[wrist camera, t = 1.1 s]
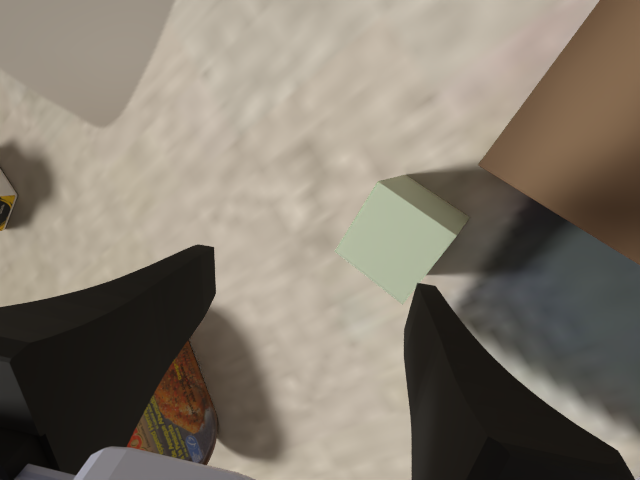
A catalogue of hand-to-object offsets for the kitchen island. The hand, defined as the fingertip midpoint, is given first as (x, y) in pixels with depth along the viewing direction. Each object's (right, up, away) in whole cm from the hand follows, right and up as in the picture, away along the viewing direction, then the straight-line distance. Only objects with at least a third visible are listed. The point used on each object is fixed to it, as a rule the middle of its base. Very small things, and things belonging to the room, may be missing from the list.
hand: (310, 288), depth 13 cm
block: (+6, +3, +9) cm, 11 cm away
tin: (-12, -11, +23) cm, 28 cm away
